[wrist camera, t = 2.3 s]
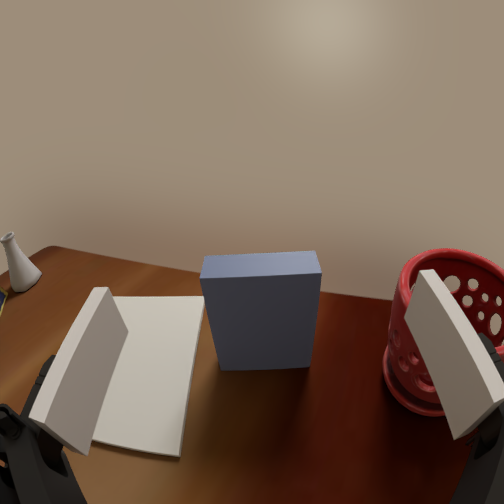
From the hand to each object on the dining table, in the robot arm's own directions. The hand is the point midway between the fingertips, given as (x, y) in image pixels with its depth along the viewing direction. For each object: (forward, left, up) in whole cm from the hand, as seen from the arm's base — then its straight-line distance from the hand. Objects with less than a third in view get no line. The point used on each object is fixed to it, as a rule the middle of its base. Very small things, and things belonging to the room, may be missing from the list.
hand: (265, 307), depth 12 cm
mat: (-17, 0, -17) cm, 24 cm away
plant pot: (+12, +12, -17) cm, 24 cm away
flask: (-50, -2, -17) cm, 53 cm away
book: (-5, +8, -17) cm, 20 cm away
